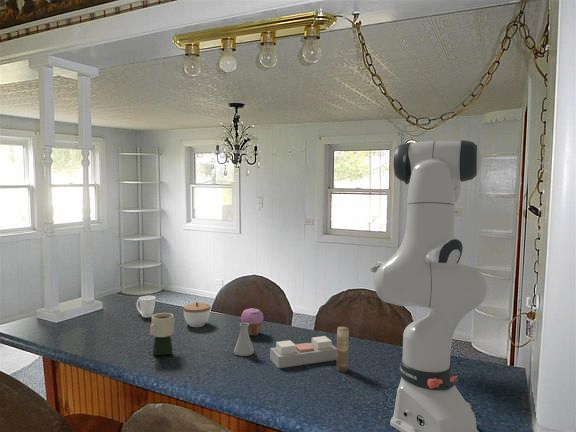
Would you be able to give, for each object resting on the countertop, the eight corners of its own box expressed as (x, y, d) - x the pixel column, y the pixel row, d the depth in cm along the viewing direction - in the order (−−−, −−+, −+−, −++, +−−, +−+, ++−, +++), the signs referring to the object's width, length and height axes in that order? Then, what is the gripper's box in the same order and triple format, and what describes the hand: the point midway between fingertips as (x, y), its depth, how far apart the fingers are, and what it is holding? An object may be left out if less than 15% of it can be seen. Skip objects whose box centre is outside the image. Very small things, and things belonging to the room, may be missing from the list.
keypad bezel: (337, 359, 143) (337, 349, 142) (278, 368, 135) (278, 357, 135) (326, 351, 150) (326, 340, 150) (269, 358, 142) (270, 348, 142)
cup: (146, 319, 182) (146, 300, 182) (130, 315, 187) (130, 297, 187) (159, 315, 188) (159, 297, 188) (143, 311, 193) (143, 293, 193)
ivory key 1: (295, 354, 139) (296, 345, 138) (281, 355, 137) (281, 347, 137) (290, 348, 143) (290, 340, 143) (275, 350, 141) (276, 342, 141)
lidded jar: (177, 325, 175) (177, 302, 174) (197, 319, 184) (197, 297, 183) (196, 330, 169) (196, 307, 168) (215, 324, 178) (215, 301, 177)
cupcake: (262, 338, 162) (262, 312, 161) (239, 337, 162) (239, 311, 161) (264, 330, 171) (264, 305, 170) (242, 330, 171) (242, 305, 170)
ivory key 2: (331, 349, 143) (331, 340, 143) (317, 351, 141) (318, 342, 141) (324, 344, 148) (325, 335, 148) (311, 345, 146) (311, 337, 146)
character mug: (166, 346, 152) (166, 310, 151) (182, 350, 148) (182, 313, 148) (142, 357, 142) (142, 318, 141) (158, 361, 139) (158, 321, 138)
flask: (251, 357, 143) (251, 328, 143) (230, 355, 145) (230, 326, 144) (257, 349, 150) (257, 321, 150) (237, 348, 152) (237, 320, 151)
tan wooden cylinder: (349, 370, 134) (351, 329, 133) (339, 372, 133) (340, 331, 132) (344, 366, 137) (345, 326, 137) (334, 367, 136) (335, 327, 135)
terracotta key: (313, 356, 141) (314, 347, 141) (299, 358, 139) (299, 349, 139) (307, 350, 146) (307, 342, 146) (293, 352, 144) (294, 344, 144)
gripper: (396, 255, 153) (362, 257, 148) (436, 265, 134) (399, 267, 129) (396, 273, 153) (362, 275, 148) (435, 285, 134) (398, 288, 129)
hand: (379, 272), depth 138 cm, fingers open, 8 cm apart
